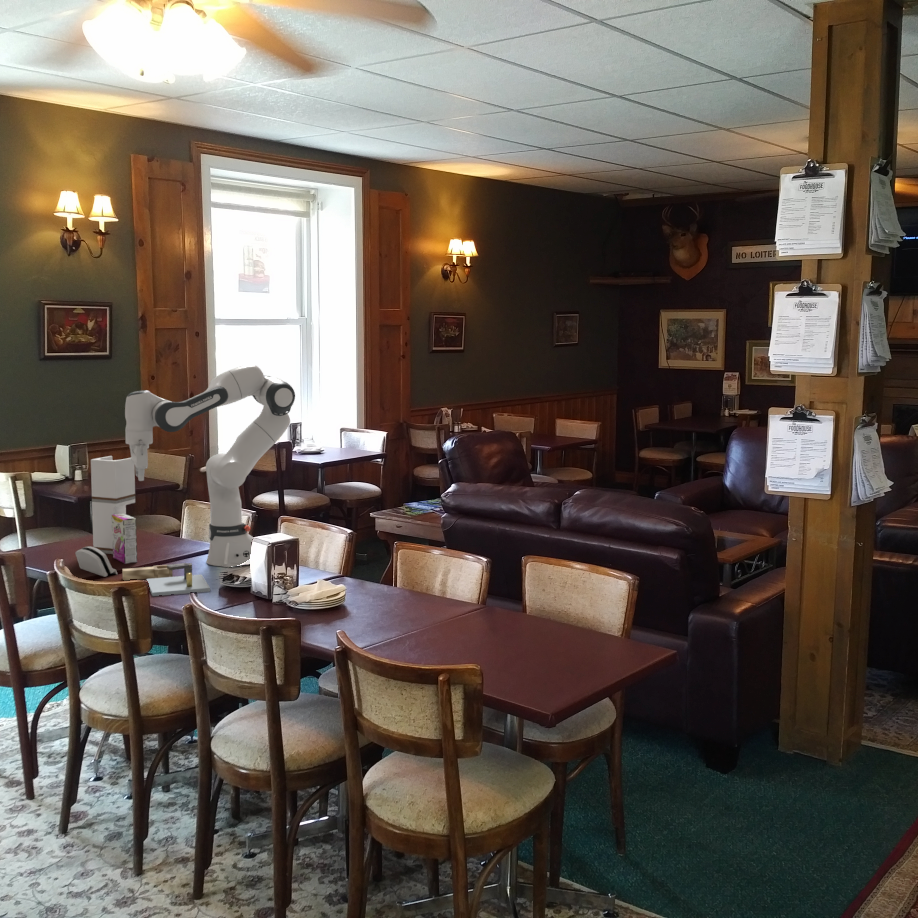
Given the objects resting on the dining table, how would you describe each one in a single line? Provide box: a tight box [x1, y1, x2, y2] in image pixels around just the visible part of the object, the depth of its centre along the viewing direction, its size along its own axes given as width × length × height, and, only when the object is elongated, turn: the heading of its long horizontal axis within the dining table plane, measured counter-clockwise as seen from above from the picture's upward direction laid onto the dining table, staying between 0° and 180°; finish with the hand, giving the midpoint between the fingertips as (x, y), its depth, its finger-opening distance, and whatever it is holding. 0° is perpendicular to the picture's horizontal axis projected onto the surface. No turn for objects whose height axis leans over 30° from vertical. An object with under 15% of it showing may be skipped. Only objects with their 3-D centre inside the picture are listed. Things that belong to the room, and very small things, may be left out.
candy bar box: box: [112, 513, 138, 565], centre depth 358 cm, size 11×5×16 cm, turn 41°
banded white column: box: [90, 455, 136, 555], centre depth 373 cm, size 11×11×35 cm
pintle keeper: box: [166, 562, 193, 587], centre depth 326 cm, size 8×13×6 cm, turn 23°
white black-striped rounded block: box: [74, 545, 118, 577], centre depth 342 cm, size 17×5×10 cm, turn 49°
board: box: [145, 574, 211, 597], centre depth 326 cm, size 18×18×1 cm
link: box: [121, 564, 174, 581], centre depth 336 cm, size 16×6×3 cm, turn 113°
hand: (139, 478), depth 339 cm, fingers open, 8 cm apart
